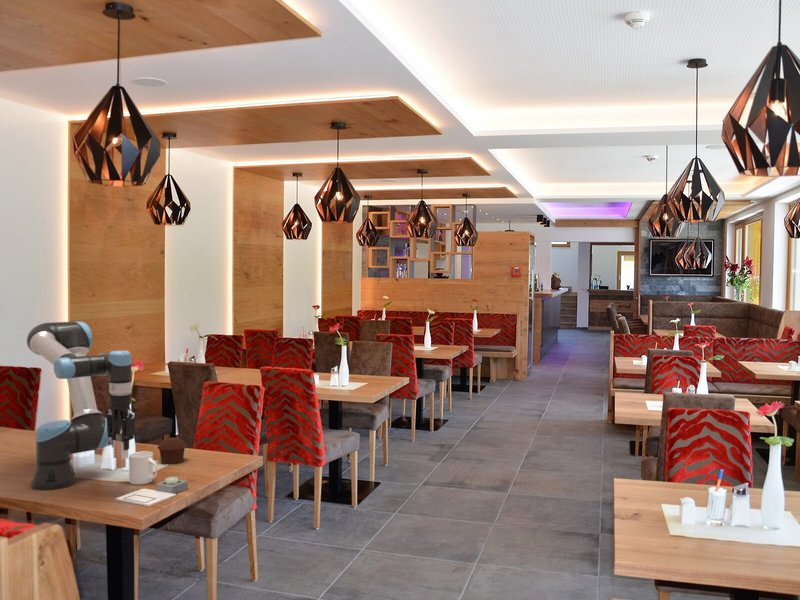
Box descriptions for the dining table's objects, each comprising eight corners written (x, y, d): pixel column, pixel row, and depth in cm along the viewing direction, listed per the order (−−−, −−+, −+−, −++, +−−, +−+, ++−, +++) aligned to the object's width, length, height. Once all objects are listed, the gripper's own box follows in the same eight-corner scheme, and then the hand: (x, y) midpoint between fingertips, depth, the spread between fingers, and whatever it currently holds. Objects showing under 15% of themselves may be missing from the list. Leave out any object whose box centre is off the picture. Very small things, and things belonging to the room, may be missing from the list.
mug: (148, 487, 264) (148, 458, 264) (124, 483, 269) (124, 455, 269) (165, 481, 272) (164, 453, 272) (141, 477, 277) (140, 450, 277)
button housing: (155, 492, 258) (155, 484, 258) (171, 486, 266) (171, 478, 266) (172, 495, 255) (172, 486, 255) (187, 489, 262) (187, 481, 262)
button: (162, 487, 259) (162, 479, 259) (171, 484, 263) (171, 476, 263) (172, 489, 257) (171, 480, 257) (180, 485, 261) (180, 477, 261)
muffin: (186, 457, 308) (186, 434, 307) (187, 464, 297) (186, 440, 297) (157, 459, 304) (157, 436, 303) (157, 466, 293) (156, 442, 293)
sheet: (115, 500, 249) (115, 498, 249) (143, 489, 261) (143, 488, 261) (149, 506, 242) (149, 504, 242) (176, 495, 254) (176, 494, 254)
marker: (113, 467, 256) (113, 434, 256) (121, 465, 259) (120, 432, 258) (120, 468, 255) (120, 435, 254) (127, 466, 258) (127, 433, 257)
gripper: (95, 393, 256) (96, 457, 257) (128, 397, 249) (129, 463, 250) (112, 390, 262) (113, 452, 264) (144, 394, 255) (145, 458, 257)
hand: (120, 457), depth 257 cm, fingers closed on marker, 3 cm apart
